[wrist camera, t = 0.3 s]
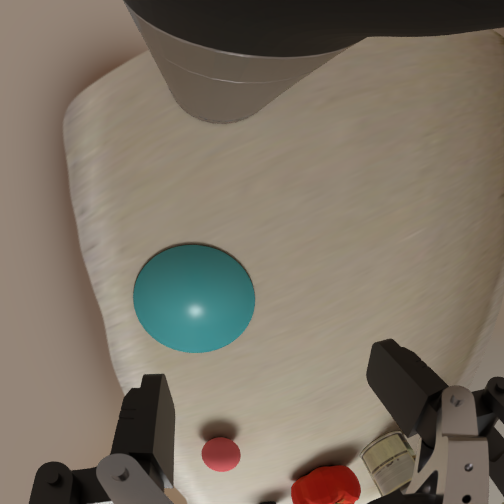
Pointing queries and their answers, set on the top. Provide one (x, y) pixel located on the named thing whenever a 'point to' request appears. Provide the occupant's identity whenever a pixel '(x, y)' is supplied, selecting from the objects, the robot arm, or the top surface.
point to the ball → (221, 454)
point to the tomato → (327, 486)
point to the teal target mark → (194, 298)
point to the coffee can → (390, 462)
